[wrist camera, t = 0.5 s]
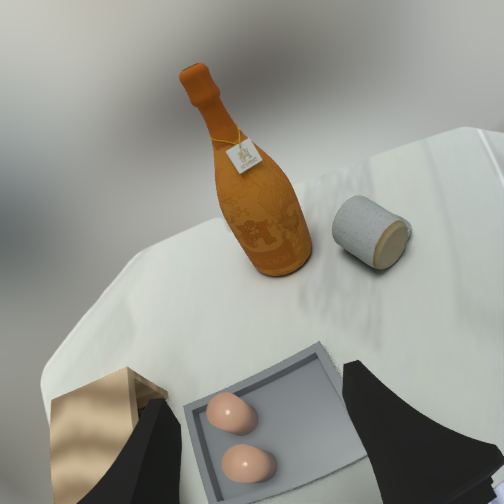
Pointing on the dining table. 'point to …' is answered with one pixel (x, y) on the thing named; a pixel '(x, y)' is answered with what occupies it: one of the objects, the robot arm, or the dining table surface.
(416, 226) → the dining table surface
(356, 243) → the ceramic mug
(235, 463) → the pink round cylinder
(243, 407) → the peg
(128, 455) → the robot arm
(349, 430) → the tray
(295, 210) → the wine bottle
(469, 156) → the dining table surface
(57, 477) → the wooden l-shaped bracket
